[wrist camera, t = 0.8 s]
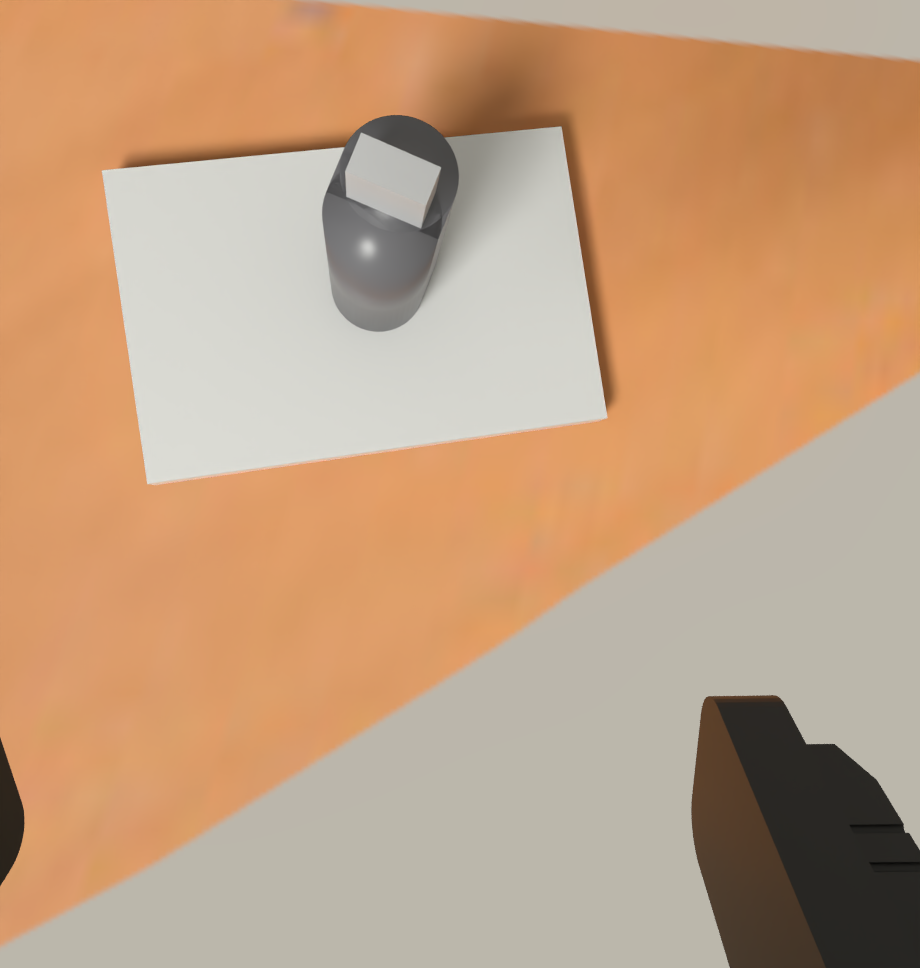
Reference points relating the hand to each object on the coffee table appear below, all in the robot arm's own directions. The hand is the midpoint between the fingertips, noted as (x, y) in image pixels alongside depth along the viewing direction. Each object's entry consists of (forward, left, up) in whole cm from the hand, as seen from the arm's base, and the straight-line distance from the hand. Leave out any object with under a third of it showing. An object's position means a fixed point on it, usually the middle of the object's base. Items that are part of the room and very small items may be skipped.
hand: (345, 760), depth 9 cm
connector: (+3, +12, -22) cm, 25 cm away
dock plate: (+2, +11, -23) cm, 26 cm away
